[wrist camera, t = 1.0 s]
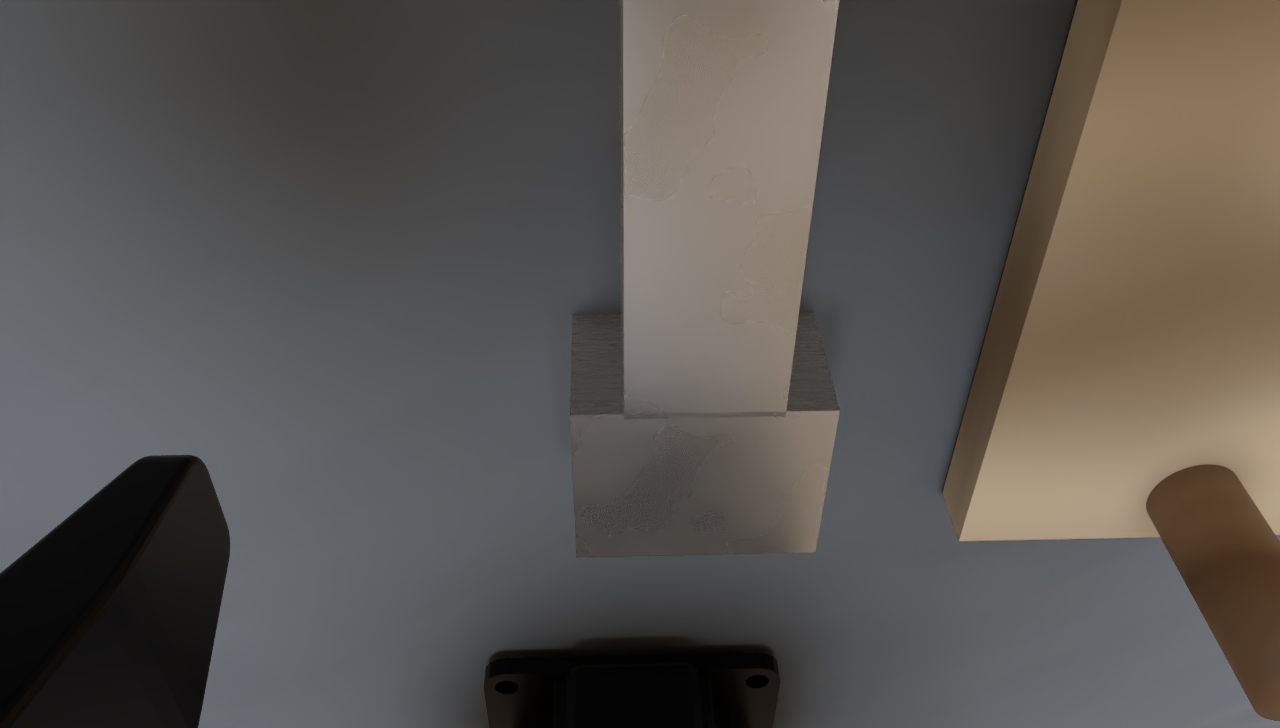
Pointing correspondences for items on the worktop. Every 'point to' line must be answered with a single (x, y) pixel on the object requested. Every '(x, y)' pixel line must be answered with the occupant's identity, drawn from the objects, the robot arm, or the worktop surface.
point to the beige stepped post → (709, 291)
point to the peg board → (1147, 317)
